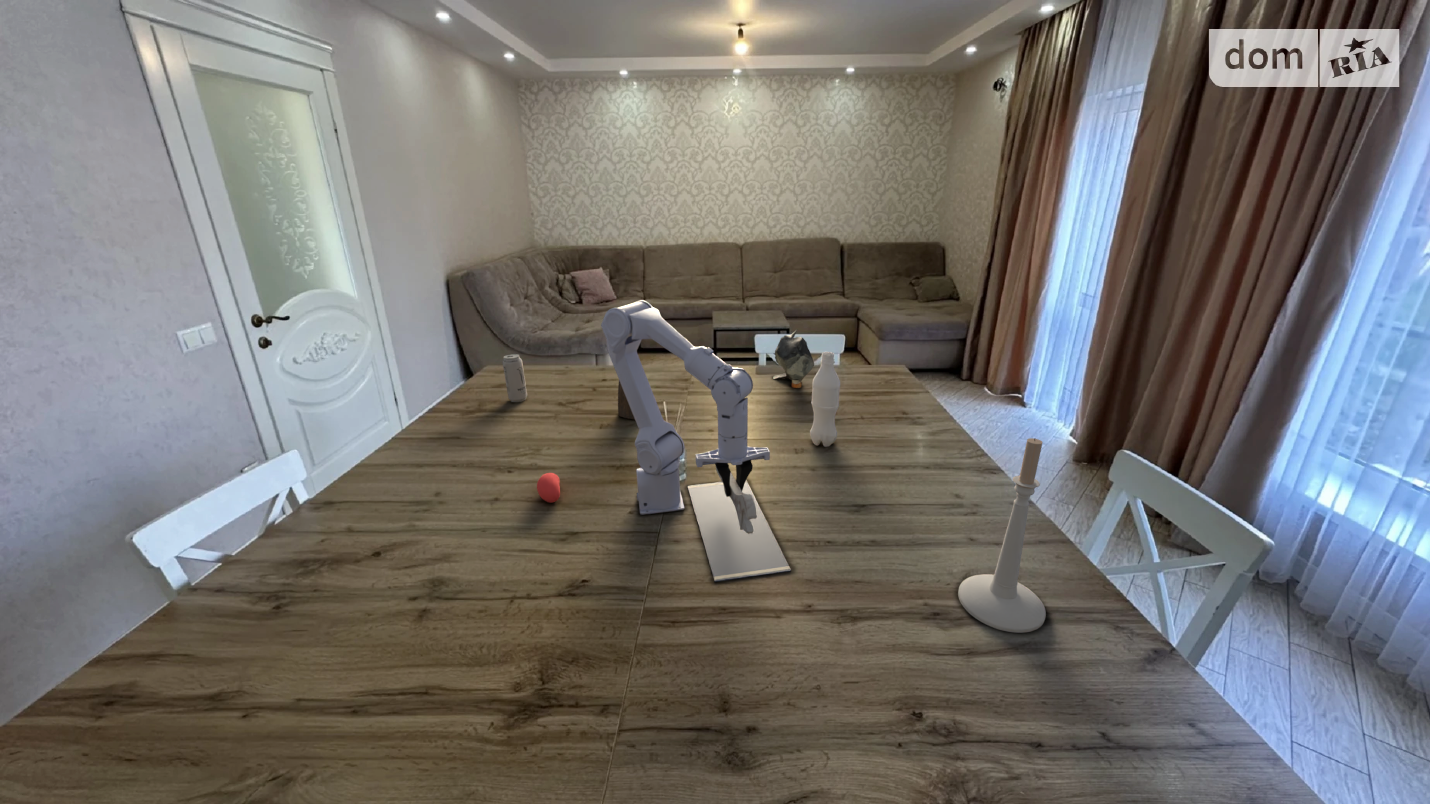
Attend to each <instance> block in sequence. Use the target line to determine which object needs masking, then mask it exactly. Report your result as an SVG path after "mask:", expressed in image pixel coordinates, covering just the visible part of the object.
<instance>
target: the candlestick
mask: <svg viewBox="0 0 1430 804" xmlns="http://www.w3.org/2000/svg"><path fill="white" fill-rule="evenodd" d="M1043 444H1044V443H1043V441H1042V440H1041V439H1038V438H1036V437H1034V438H1033V437H1029V438H1027V439H1026V444H1025V449H1024V452H1023V457H1022V462H1021V466H1020V467H1021V468H1020V473H1019V475H1015V476H1013V477H1012V481H1013V482H1014V483H1015V486H1014V491H1015V493H1016V498H1015V499H1014V500H1013V504H1012V505H1013V506H1012V509H1011V514H1010V516H1009V519H1008V523H1007V527H1006V530H1005V534H1004V538H1003V541H1002V546H1001V549H1000V552H999V556H998V561H997V563H996V567H995V570H994V574H991V573H990V574H989V573H985V574H976V575H972V576H969V577H967V578H965V579H964V580H963V581H962V582H961V583H960V584H959V587H958V592H957V595H958V600H959V602H960V604H961V606H962V607H963V608H964V610H965V611H966V612H967V613H968V614H969V615H970V616H972V617H973V618H974V619H976V620H977V621H979V622H981V624H982V623H983V624H984V625H987V626H988V627H991V628H994V629H996V630H1000V631H1003V632H1009V633H1015V634H1016V633H1017V634H1018V633H1019V634H1020V633H1022V634H1024V633H1030V632H1034V631H1036V630H1038V629H1040V628H1041V627H1042V626H1043V625H1044V623H1045V622H1046V621H1045V620H1046V617H1047V616H1046V615H1047V613H1046V608H1045V605H1044V603H1043V602H1042V600H1041V599H1040V598H1039V597H1038V595H1037V594H1036V593H1035V592H1033V591H1032V590H1031V589H1029V588H1028V587H1026V585H1024V584H1023V583H1020V582H1018V580H1019V576H1020V575H1019V574H1020V568H1021V562H1022V554H1023V548H1024V541H1025V535H1026V527H1027V521H1028V514H1029V507H1030V502H1029V500H1030V498H1031V497H1032V496H1033V495H1034V494H1035V489H1037V488H1039V487H1040V486H1041V483H1040V481H1039V480H1037V479H1036V476H1037V475H1036V474H1037V470H1038V466H1039V461H1040V456H1041V453H1042V448H1043Z"/></svg>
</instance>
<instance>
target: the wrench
mask: <svg viewBox="0 0 1430 804" xmlns="http://www.w3.org/2000/svg"><path fill="white" fill-rule="evenodd" d="M715 470H716V471H715V472H716V474H717V476H718V477H719V479H720V482H722V483H723V481H722V478H721V476H720V474H719V472H718V470H717V468H716V467H715ZM730 498H731V500H732V502H733V504H734V506H735V508H736V512H737V516H738V520H739V525H740V530H744V531H745V532H746V533H748V534H750V533H753V531H754V530H753V526H752V523H751V520H750V519H755V518H757V514H756V508H755V503H754V500H753V497H752V495H751V494H744V493H743V492H742V491H741V489H740V487H739V485H738V484H737V482H736V477H734V475H733V474H732V472H731V473H730Z"/></svg>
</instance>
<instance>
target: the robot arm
mask: <svg viewBox="0 0 1430 804" xmlns="http://www.w3.org/2000/svg"><path fill="white" fill-rule="evenodd" d="M600 327H601V329H602V333H603V335H604V337H605V340H606V347H607V348H606V349H607V353H608V356H609V358H610V361H611V364H612V366H613V368H614V371H615V373H616V376H617V378H618V382H619V381H620V383H621V386H622V388H623V391H624V393H625V396H626V398H627V401H628V403H629V406H630V408H631V411H632V413H633V416H634V418H635V419H634V420H635V423H636V425H637V429H638V433H637V435H636V438H635V440H634V447H635V449H636V458H637V462H638V465H639V466H640V467H638V468H635V472H636V484H637V485H636V487H637V492H636V501H637V502H638V507H639V514H640V515H651V514H661V513H668V512H669V513H670V512H677V511H683V510H685V504H684V500H683V496H682V492H681V483H680V481H681V480H680V462H681V457H682V456H683V454H684V452H685V449H686V448H685V447H686V446H685V442H684V440H683V438H682V436H680V434H679V433H678V432H677V430H676V429H675V426H674V424H673V423H670V422H668V421H666V420H664V417H663V415H662V412H661V410H660V407H659V405H658V402H657V399H656V397H655V395H654V391H653V389H652V387H651V384H650V382H649V379H648V376H647V375H646V372H645V369H644V366H643V364H642V362H641V359H640V356H639V354H638V349H639V347H640V344H641V342H642V340H653V341H654V342H655V343H657V344H658V345H660V346H661V347H663V348H664V349H665V350H667V351H668V352H670V353H671V354H673V355H674V356H676V357H677V358H678V359H680V360H681V361H683V364H684V370H685V371H686V372H687V373H689V374H690V375H691V376H693V377H694V378H695V379H696V380H698V381H699V382H700V383H701V384H702V385H703V386H705V387H706V388H708V389H709V390H710V395H711V397H712V399H713V400H714V402H715V404H716V412H717V448H716V449H713V450H709V451H706V452H701V453H695V464H696V468H702V467H704V466H708V465H709V466H710V465H714V466H715V469H716V468H717V470H718V472H719V474H720V476H721V478H722V481H723V485H724V490H725V494H726V497H730V473H732V471H731V469H730V465H729V464H731V466H735V474H736V475H735V476H736V477H735V480H736V482H737V484H738V485H739V487H740V489H741V491H742V490H743V487H744V484H745V481H746V480H747V479H748V477H749V475H750V474H751V473H752V471H753V469H754V467H753V465H754V464H753V463H752V461H757V460H764V461H770V459H771V451H770V449H769V447H768V446H762V447H761V446H759V447H758V446H748V441H749V440H748V435H749V434H748V433H749V432H748V431H749V427H748V423H749V422H748V421H749V409H748V408H749V407H748V406H749V405H748V404H749V401H748V400H749V398H748V396H749V395H750V394H751V393H752V391H753V388H754V381H753V379H752V377H751V375H750V374H749V372H747V371H746V369H745V368H742V367H733V365H731V364H729V363H726V362H725V361H723V360H722V359H721V358H720V357H719V356H717V355H716V354H715V353H714V350H713V349H712V348H710V347H709V346H708V347H706V346H704V345H701V346H694V345H693V344H692V343H691V342H690V341H689V340H688V339H687V338H686V337H684V335H682V334H681V333H680V332H679V331H677V329H675V328H674V327H673V326H672V325H671V324H670V323H669V322H667V320H665V319H664V318H663V317H662V315H661V313H660V310H659V309H658V308H656V307H653V306H652V304H651V303H650V302H648V301H646V300H644V299H639V300H637V301H634V302H632V303H629V304H625V305H622V306H618V307H612V308H610V309H608V310H606V312H605V313H604V316H603V318H602V321H601V324H600ZM722 481H721V482H722Z"/></svg>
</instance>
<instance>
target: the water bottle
mask: <svg viewBox="0 0 1430 804" xmlns="http://www.w3.org/2000/svg"><path fill="white" fill-rule="evenodd" d="M834 357H835V353H834V352H833V351H823V352H821V359H820V362H819V363H820V367H819V368H818V371H817V372H816V374H815V375H814V377H813V378H812V383H811V386H812V388H811V389H812V391H811V392H812V393H811V402H810V403H811V407H812V410H813V422H812V426H811V429H809V435H810V439H811V441H812V443H813V444H814V445H815V446H819V445H820V444H821V443H822V445H823V447H825V448H829V447H830V446H831V445H833V444H834V443H835V442H836V440H837V438H838V431H837V426H836V413H837V411H838V409H839V408H840V391H841V390H840V389H841V380H840V378H839V375H838V374H837V373H838V372H837V370H836V369H835V363H836V361H835V358H834Z"/></svg>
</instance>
